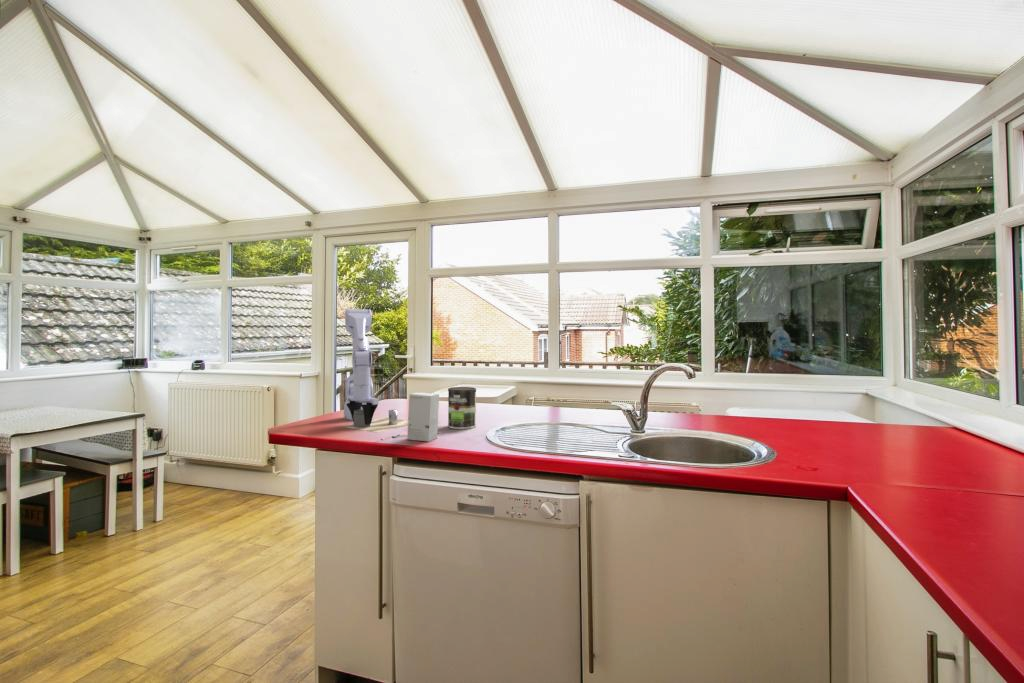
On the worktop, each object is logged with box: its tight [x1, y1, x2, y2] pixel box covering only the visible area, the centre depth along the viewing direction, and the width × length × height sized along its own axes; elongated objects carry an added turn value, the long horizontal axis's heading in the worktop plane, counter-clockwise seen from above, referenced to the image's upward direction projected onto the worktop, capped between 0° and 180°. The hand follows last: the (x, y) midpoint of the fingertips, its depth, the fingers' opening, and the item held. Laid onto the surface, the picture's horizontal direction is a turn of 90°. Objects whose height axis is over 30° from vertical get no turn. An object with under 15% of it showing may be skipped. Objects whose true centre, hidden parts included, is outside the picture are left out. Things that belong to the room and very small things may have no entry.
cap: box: [353, 409, 371, 427], centre depth 168 cm, size 6×6×6 cm
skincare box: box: [407, 392, 440, 442], centre depth 154 cm, size 8×6×15 cm
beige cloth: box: [341, 417, 408, 433], centre depth 170 cm, size 18×21×2 cm
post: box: [388, 409, 398, 425], centre depth 171 cm, size 3×3×6 cm
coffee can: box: [447, 386, 477, 430], centre depth 174 cm, size 10×10×14 cm
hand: (362, 423), depth 168 cm, fingers closed on cap, 6 cm apart
